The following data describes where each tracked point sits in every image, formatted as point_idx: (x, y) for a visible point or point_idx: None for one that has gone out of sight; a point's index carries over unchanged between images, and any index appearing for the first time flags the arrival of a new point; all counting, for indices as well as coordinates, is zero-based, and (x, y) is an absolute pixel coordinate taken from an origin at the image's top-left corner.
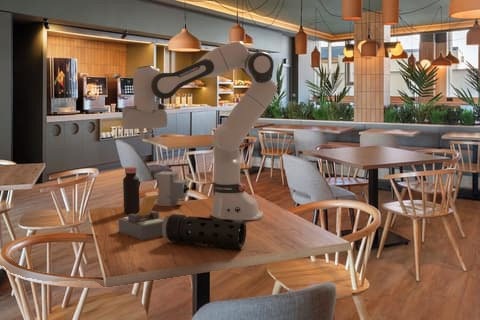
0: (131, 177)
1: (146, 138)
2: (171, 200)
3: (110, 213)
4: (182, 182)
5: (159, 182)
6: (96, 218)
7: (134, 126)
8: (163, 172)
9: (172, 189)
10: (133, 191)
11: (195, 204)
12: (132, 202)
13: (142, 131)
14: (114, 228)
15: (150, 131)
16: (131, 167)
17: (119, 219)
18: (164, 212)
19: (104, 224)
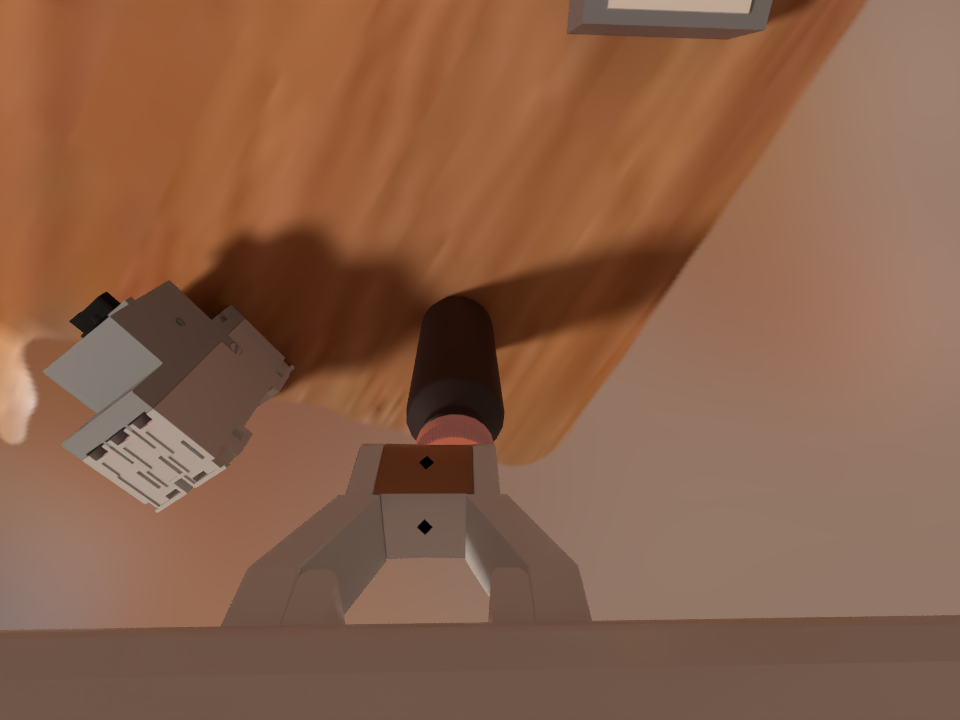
0: (471, 401)
1: (428, 446)
2: (226, 324)
3: (533, 372)
4: (104, 325)
5: (237, 423)
6: (624, 336)
7: (953, 683)
8: (164, 485)
9: (191, 346)
10: (467, 344)
11: (106, 262)
12: (473, 320)
13: (540, 561)
14: (697, 116)
15: (295, 552)
16: None
17: (766, 17)
18: (333, 225)
19: (673, 221)
